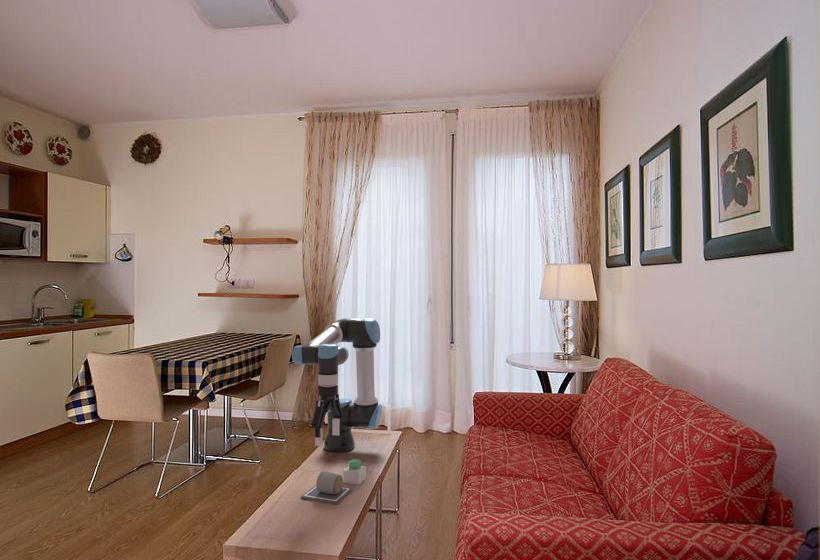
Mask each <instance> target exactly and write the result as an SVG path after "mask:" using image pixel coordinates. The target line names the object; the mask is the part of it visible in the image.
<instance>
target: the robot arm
mask: <svg viewBox="0 0 820 560" xmlns="http://www.w3.org/2000/svg"><path fill="white" fill-rule="evenodd" d="M380 341H381V328H380V324H379V322H378V321H377V319H374V318H368V317H367V318H359V317H357V318H356V317H355V318H351V317H347V318H341V319H338V320H335V321H333V322H331V323H330V324H328V325H327V326H325V327H324V330H323V331H322V332H321V333H320V334H318V335H317V336H315V337H314V338H313V339H312V340H310V341H309V342H307V343H306V344H305V345H302V344H301V345H295V346H294V347H293V349H292V351H291V359H292V362H293V363H294V364H296V365H317V366H318V368H317V369H318V370H317V371H318V373H317V374H318V375H317V379H318V380H317V381H318V382H317V384H318V387H317V395H318V396H319V397H320V400H316V402H315V411H314V414H313V417H312V423H311V429H314V446H317V447H323V449H324V450H326V451H327V452H330V453H342V452H343V453H344V452H348V451H351V450H353V449H355V447H356V444H355V443H356V442H355V438H354V435H353V432H352V428H360V429H361V428H364V429H375V428H377V427H378V426H379V424H380V422H381V418H382V412H383V411H382V410H383V406H382V404H381V403H379V399H378V398H377V397H376V396H375V395H376V394H375V389H376V388H375V353H374V352H375V351H374V350H375V349H376V348H377V344H379V343H380ZM339 343H352V347H353V349H354V350H355V360H356V361H355V364H356V398H355V399H354V400H352V399H351V398H341V399H340V395H339V390H338V389H339V386H338V383H339V377H338V376H339V373H338V372H339V366H340V365H343V364H344V363H345V362H347V361H348V359H349V350H348V349H347V348H346V347H345V346H343V345H337V344H339ZM353 401H354V402H353ZM326 415H327V433H326V435H325V436H326V437H325V438H323V429H324V427H322V426H323V423H324V421H325V418H326ZM323 439H325V440H324V442H323Z"/></svg>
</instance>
